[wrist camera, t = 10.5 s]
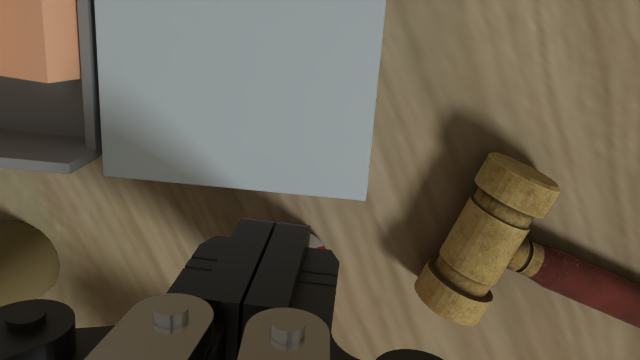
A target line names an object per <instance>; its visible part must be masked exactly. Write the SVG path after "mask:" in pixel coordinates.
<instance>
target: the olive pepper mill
mask: <svg viewBox="0 0 640 360" xmlns="http://www.w3.org/2000/svg"><path fill="white" fill-rule="evenodd" d="M59 267H60V263H59V259H58V255H57V252H56V250H55V248H54V246H53V245H52V243H51V241H50V240H49V239H48V238H47V237H46V236H45V235H44V234H43V233H42V232H41V231H40V230H38V229H36V228H35V227H33V226H31V225H29V224H27V223H23V222H19V221H16V220H13V221H1V222H0V307H1V306H4V305H7V304H11V303H15V302H19V301H24V300H33V299H36V298H38V297H39V296H41V295H43V294H44V293H46V292H47V291H48V290H49V289H50V288H51V287H53V286H54V284H55V282H56V280H57V278H58V276H59Z"/></svg>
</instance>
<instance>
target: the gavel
mask: <svg viewBox="0 0 640 360" xmlns="http://www.w3.org/2000/svg"><path fill="white" fill-rule="evenodd" d="M474 181H475V182H476V184H477V185H478V186H479V188H478V189H477V191H476V193H475V195H472V196H470V198H469V200H468V201H467V203H466V205H465V207H464V208H463V210H462V212H461V214H460V215H459V217H458V219H457V221H456V222H455V224H454V226H453V228H452V229H451V231H450V233H449V234H448V236H447V238H446V240H445V241H444V243H443V245H442V247H441V248H440V255H439V257H438V258H431V259H429V260H428V261H427V263H426V265H425V266H424V268H423V270H422V272H421V273H420V275H419V277H418V279H417V280H416V282H415V285H414V286H415V290H416V292H417V294H418V296H419V297H420V299H421V300H422V301H423V302H424V304H426V305H427V306H428V307H429V308H430V309H431V310H432V311H434V312H435V313H437V314H438V315H440V316H441V317H443V318H445V319H447V320H449V321H451V322H454V323H457V324H461V325H475V324H477V323H478V322H479V320H480V318H481V317H482V315H483V314H484V312H485V310H486V309H487V307H488V306H489V304H490V303H491V301H492V299H493V295H492V293H491V291H490V288H491V286H492V285H495V284H496V283H497V281H498V280H499V278H500V277H501V275H502V273H503V272H504V270H505V269H506V268H507V269H510V270H512V271H516V272H518V273H520V274H522V275H525V276H527V277H529V278H530V279H532V280H533V281H535V282H536V283H538V284H539V285H541V286H542V287H545V288H547V289H549V290H552V291H554V292H556V293H559V294H561V295H563V296H566V297H568V298H570V299H573V300H575V301H577V302H580V303H582V304H585V305H587V306H589V307H592V308H594V309H596V310H599V311H601V312H603V313H606V314H608V315H610V316H613V317H615V318H617V319H620V320H622V321H625V322H627V323H629V324H632V325H634V326H636V327H639V328H640V285H639V284H637V283H634V282H632V281H630V280H627V279H625V278H623V277H620V276H618V275H616V274H614V273H611V272H609V271H607V270H604V269H602V268H600V267H597V266H595V265H593V264H591V263H588V262H586V261H584V260H581V259H579V258H577V257H574V256H572V255H570V254H568V253H565V252H563V251H561V250H558V249H554V248H550V247H546V246H541V245H539V244H536V243H534V242H532V241H528V240H527V239H526V238H525V237H526V235H527V233H528V232H529V230H530V227H529V225H530V223H531V222H532V220H533V219H534V217H537V218H544V217H545V215H546V214H547V212H548V211H549V209H550V207H551V206H552V204H553V203H554V201H555V199H556V198H557V196H558V195H559V193H560V191H561V190H560V188H559V186H558V185H557V183H555V182H554V181H553V180H552V179H550V178H549V177H547V176H546V175H544V174H543V173H541V172H539V171H538V170H536V169H534V168H532V167H530V166H528V165H526V164H524V163H522V162H520V161H518V160H515V159H513V158H511V157H509V156H507V155H504V154H501V153H497V152H494V153H489V154H488V156H487V158H486V159H485V161H484V163H483V165H482V166H481V168H480V170H479V172H478V173H477V175H476V177H475V179H474Z"/></svg>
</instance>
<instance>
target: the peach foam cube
mask: <svg viewBox="0 0 640 360" xmlns="http://www.w3.org/2000/svg"><path fill="white" fill-rule="evenodd" d="M0 76H5V77H12V78H18V79H24V80H30V81H36V82H43V83H54V82H61V81H68V80H75V79H82V75H81V59H80V42H79V26H78V9H77V0H0Z"/></svg>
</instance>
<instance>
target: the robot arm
mask: <svg viewBox="0 0 640 360" xmlns="http://www.w3.org/2000/svg"><path fill="white" fill-rule="evenodd" d="M309 242H310V226H309V225H300V224H292V223H284V222H277V224H276V222H275V221H267V220H259V219H251V218H242V219H241V221H240V223H239V225H238V226H237V228H236V230H235V231H234V233H233V235H232V237H231V238H229V237H221V236H215V237H213V238H211V239H209V240H207V241H206V242H204V243H202V244H200V245H199V246H198V248H197V249H196V251H195V252H194V254H193V255H192V258H191V259H190V260H189V261H188V262H187V264H186V265H185V269H183V270H182V271H181V273H180V274H179V276H178V277H177V279H176V280H175V281H174V283H173V284H172V286H171V287H170V289H169V290H168V292H167V293H166V294H160V295H156V296H152V297H149V298H146V299H144V300H142V301H140V302H138V303H137V304H135V305H134V306H133V307H132V308H131V309H130V310H129V311H128V312H127V313H126V314H125V315H124V317H123V318H122V319H121V320H120V321H119V322H118V323H117V324H116V325H115V326H106V327H90V328H75V314H74V311H73V310H72V309H71V308H70V307H69V306H68V305H66V304H64V303H61V302H58V301H54V300H45V299H33V300H24V301H19V302H15V303H11V304H7V305H4V306H1V307H0V360H359V359H357V358H355V357H353V356H351V355H349V354H348V353H346V352H345V351H343V350H342V349H341V348H340V347H339V346H338V345H337V344H336V342H335V341H334V339H333V337H332V334H331V328H332V320H333V312H334V303H335V295H336V286H337V278H338V269H339V261H338V260H337V258H336V257H335V255H334V254H333V252H332V251H331V250H326V249H318V248H310V247H309ZM376 360H443V359H441V358H440V357H438V356H435V355H433V354H430V353H427V352H424V351H419V350H412V349H399V350H393V351H389V352H386V353H384V354H382V355H381V356H379V357H378V358H377V359H376Z"/></svg>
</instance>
